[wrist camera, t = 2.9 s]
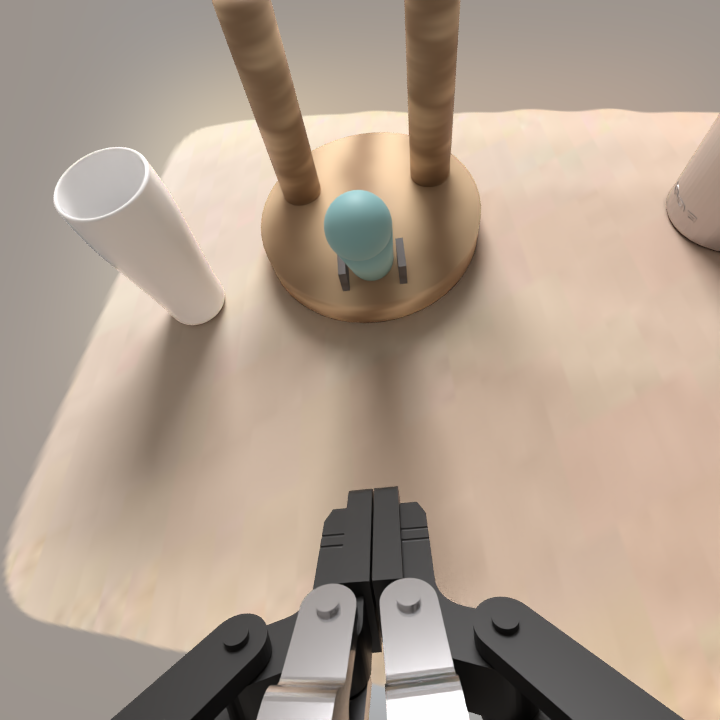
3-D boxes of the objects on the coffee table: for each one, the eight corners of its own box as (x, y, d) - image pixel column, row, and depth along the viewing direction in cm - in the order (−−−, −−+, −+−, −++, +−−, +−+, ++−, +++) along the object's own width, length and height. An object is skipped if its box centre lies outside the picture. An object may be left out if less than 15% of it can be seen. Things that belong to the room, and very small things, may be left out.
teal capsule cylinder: (391, 236, 39) (387, 175, 22) (395, 279, 39) (396, 251, 23) (348, 242, 39) (314, 186, 23) (353, 285, 39) (323, 260, 23)
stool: (459, 144, 48) (479, -105, 31) (495, 308, 40) (553, 94, 22) (272, 171, 50) (189, -49, 32) (268, 335, 41) (152, 156, 24)
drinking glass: (244, 279, 44) (166, 149, 31) (218, 340, 42) (120, 229, 28) (183, 268, 46) (82, 140, 32) (153, 327, 43) (31, 215, 30)
